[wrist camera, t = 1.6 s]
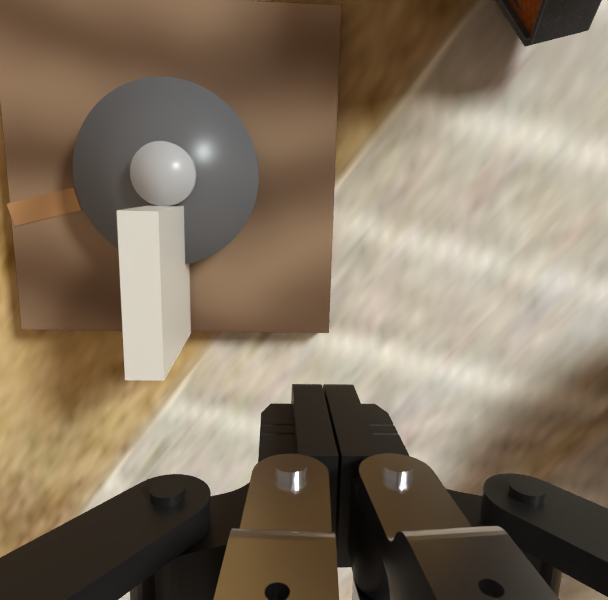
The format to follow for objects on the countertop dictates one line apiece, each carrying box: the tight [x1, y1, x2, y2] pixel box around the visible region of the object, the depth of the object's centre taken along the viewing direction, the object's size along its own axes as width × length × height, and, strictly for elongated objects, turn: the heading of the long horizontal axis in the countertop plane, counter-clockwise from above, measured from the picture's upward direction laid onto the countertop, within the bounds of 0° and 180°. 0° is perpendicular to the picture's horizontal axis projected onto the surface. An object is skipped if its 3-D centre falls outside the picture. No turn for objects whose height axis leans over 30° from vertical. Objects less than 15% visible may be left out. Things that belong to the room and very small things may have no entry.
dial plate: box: [0, 0, 341, 333], centre depth 28 cm, size 17×17×2 cm
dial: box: [73, 77, 259, 380], centre depth 24 cm, size 13×9×7 cm
